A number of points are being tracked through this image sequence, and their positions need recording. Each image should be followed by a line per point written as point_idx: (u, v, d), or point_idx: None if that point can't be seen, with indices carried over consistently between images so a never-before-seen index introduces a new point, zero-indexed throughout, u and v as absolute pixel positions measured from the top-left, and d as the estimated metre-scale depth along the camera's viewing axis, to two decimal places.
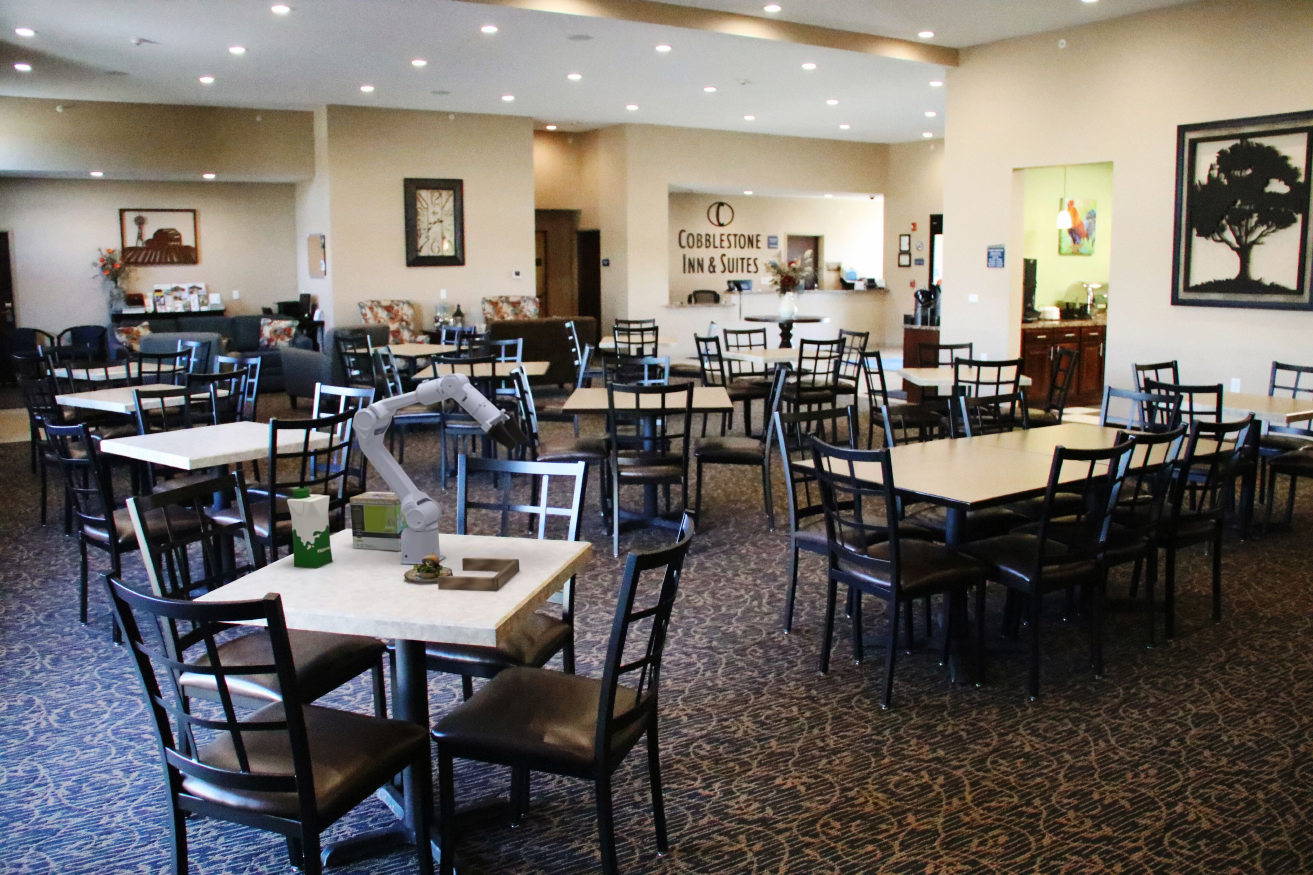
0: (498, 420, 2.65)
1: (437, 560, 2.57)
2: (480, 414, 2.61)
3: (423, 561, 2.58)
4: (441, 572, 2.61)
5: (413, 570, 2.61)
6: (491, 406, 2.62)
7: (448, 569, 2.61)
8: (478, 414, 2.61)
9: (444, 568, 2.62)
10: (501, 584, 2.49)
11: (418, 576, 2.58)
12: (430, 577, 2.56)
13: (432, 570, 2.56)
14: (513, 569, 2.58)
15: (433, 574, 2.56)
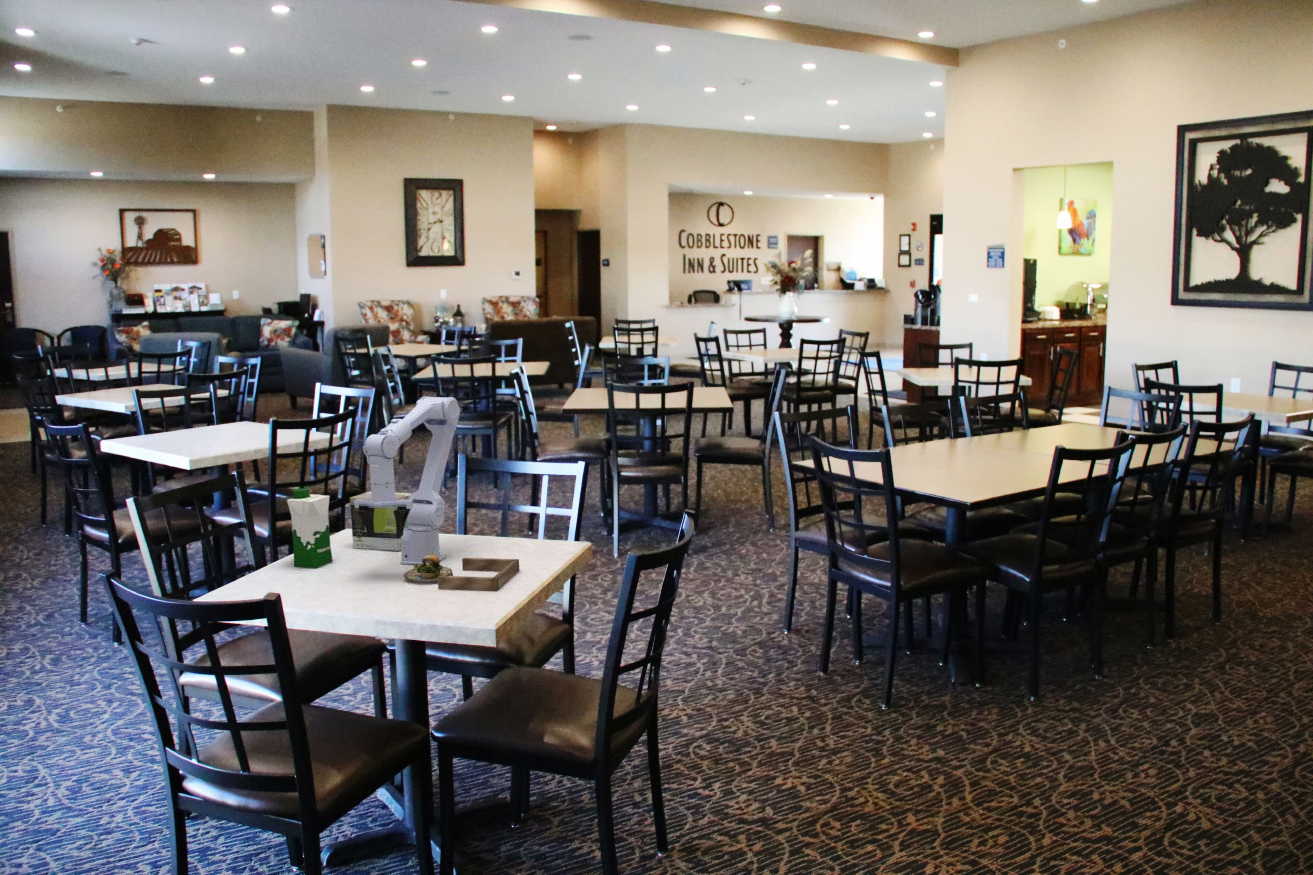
0: None
1: (437, 560, 2.57)
2: None
3: (423, 561, 2.58)
4: (441, 572, 2.61)
5: (413, 570, 2.61)
6: (375, 492, 2.54)
7: (448, 569, 2.61)
8: None
9: (444, 568, 2.62)
10: (501, 584, 2.49)
11: (418, 576, 2.58)
12: (430, 577, 2.56)
13: (432, 570, 2.56)
14: (513, 569, 2.58)
15: (433, 574, 2.56)
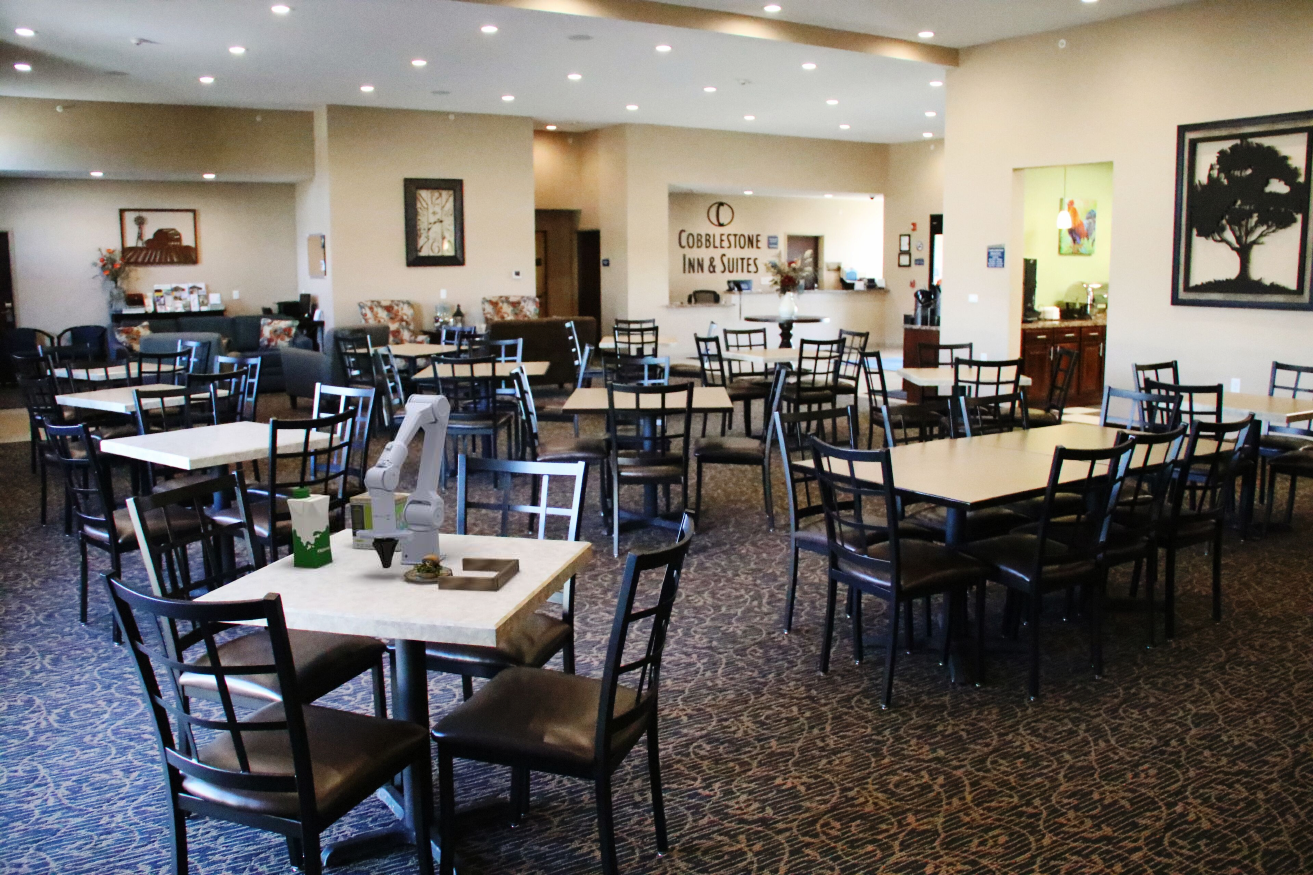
0: None
1: (437, 560, 2.57)
2: None
3: (423, 561, 2.58)
4: (441, 572, 2.61)
5: (413, 570, 2.61)
6: (376, 524, 2.55)
7: (448, 569, 2.61)
8: None
9: (444, 568, 2.62)
10: (501, 584, 2.49)
11: (418, 576, 2.58)
12: (430, 577, 2.56)
13: (432, 570, 2.56)
14: (513, 569, 2.58)
15: (433, 574, 2.56)
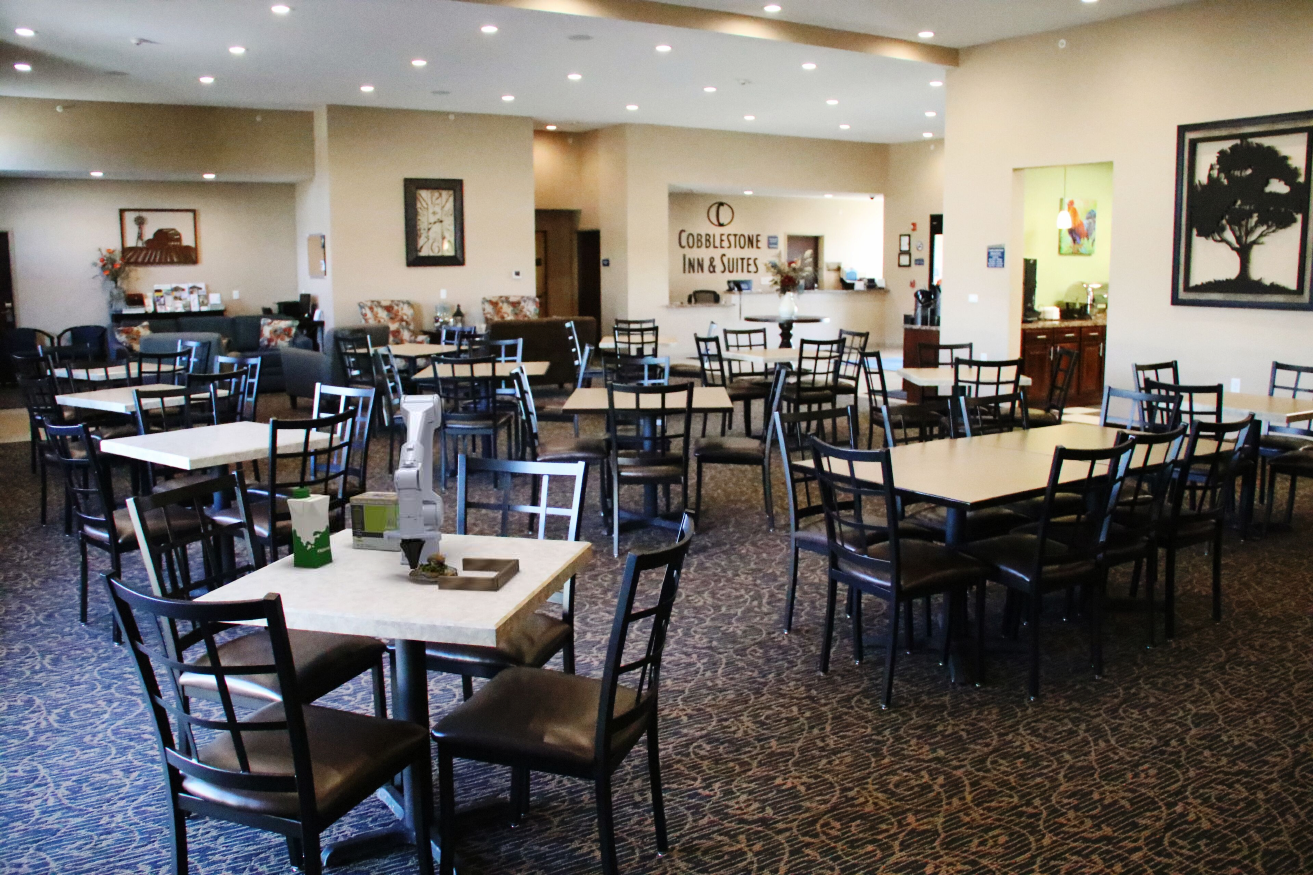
0: None
1: (442, 559, 2.57)
2: None
3: (428, 560, 2.58)
4: (446, 571, 2.60)
5: (418, 569, 2.60)
6: (403, 524, 2.54)
7: (453, 568, 2.60)
8: None
9: (449, 567, 2.62)
10: (501, 584, 2.49)
11: (423, 575, 2.58)
12: (435, 576, 2.56)
13: (437, 569, 2.55)
14: (513, 569, 2.58)
15: (438, 573, 2.56)
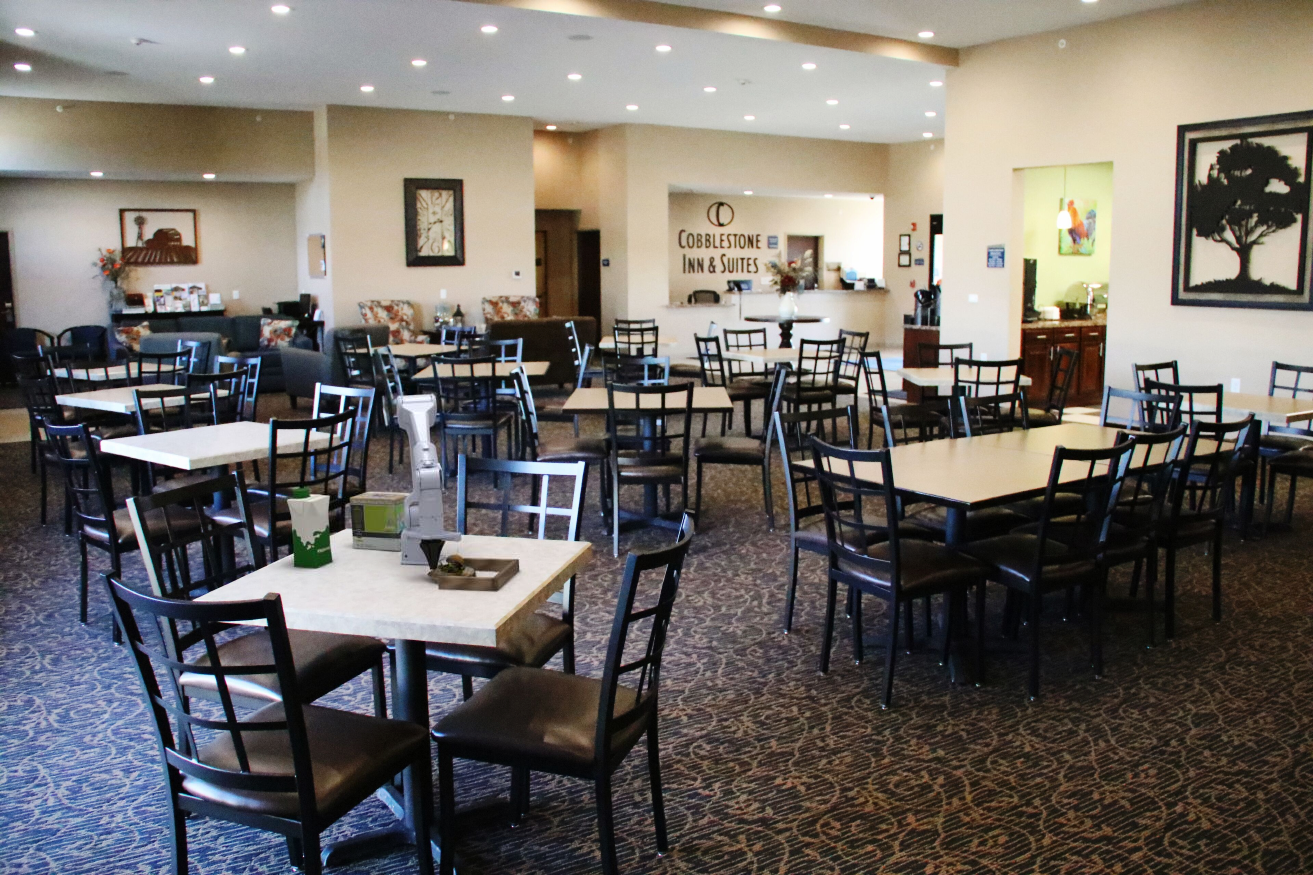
0: None
1: (460, 560, 2.56)
2: None
3: (447, 560, 2.58)
4: (466, 572, 2.60)
5: (439, 569, 2.61)
6: (423, 525, 2.53)
7: (472, 570, 2.59)
8: None
9: (469, 568, 2.61)
10: (501, 584, 2.49)
11: (442, 575, 2.58)
12: None
13: (454, 570, 2.55)
14: (513, 569, 2.58)
15: (455, 574, 2.55)
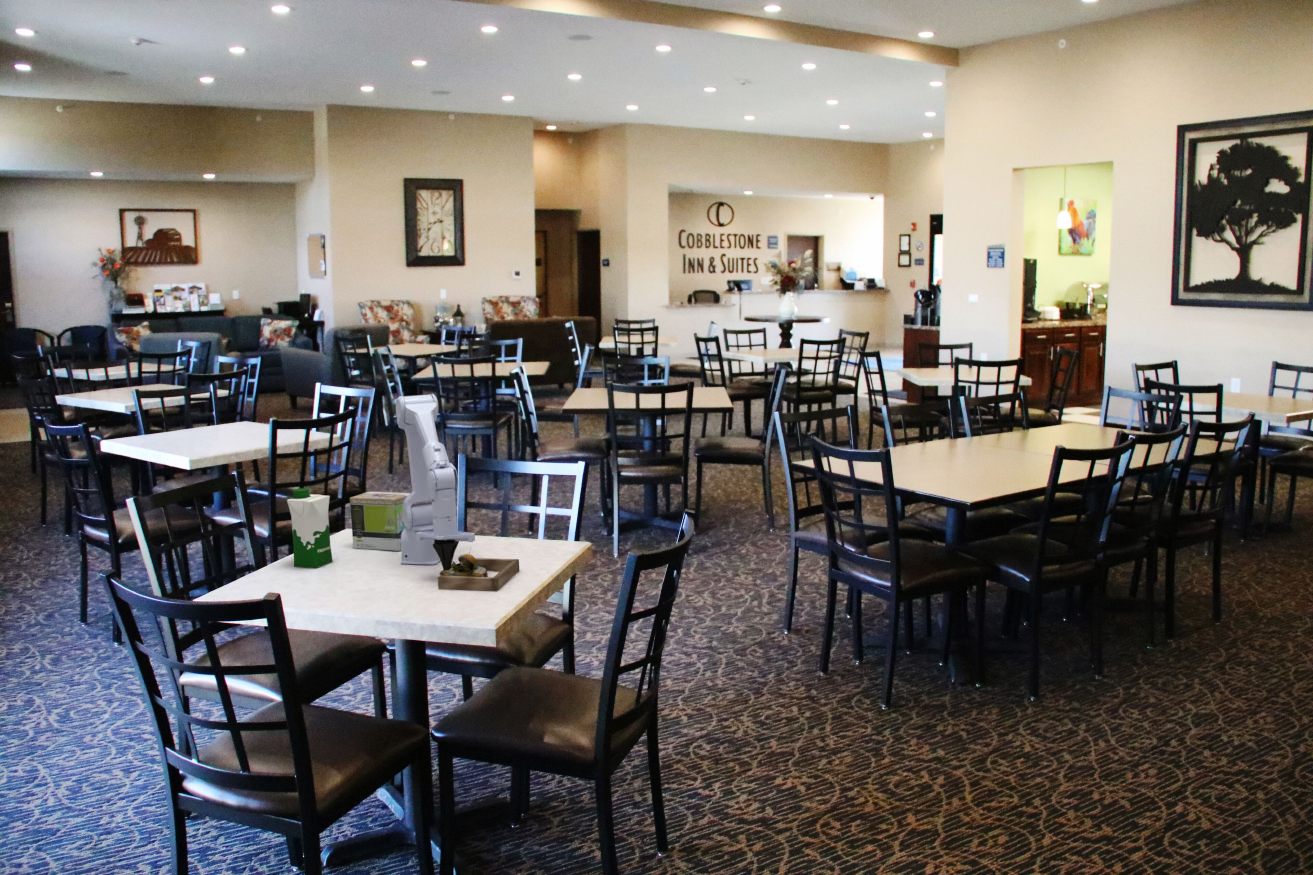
0: None
1: (471, 560, 2.57)
2: None
3: (459, 560, 2.58)
4: (478, 572, 2.60)
5: (453, 568, 2.62)
6: (437, 525, 2.52)
7: (485, 570, 2.59)
8: None
9: (482, 568, 2.61)
10: (501, 584, 2.49)
11: (454, 574, 2.59)
12: None
13: (465, 570, 2.55)
14: (513, 569, 2.58)
15: (466, 574, 2.55)
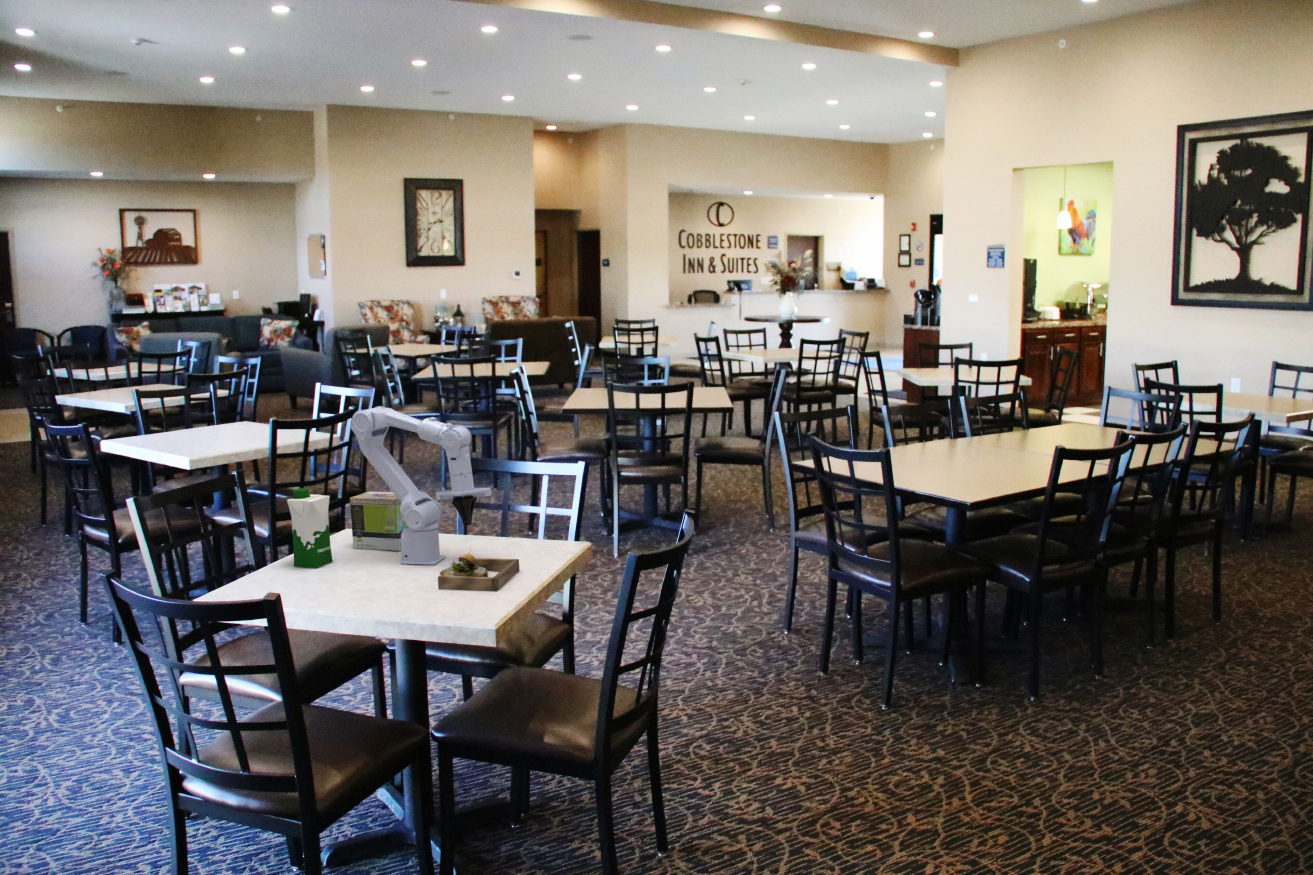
0: None
1: (472, 560, 2.57)
2: None
3: (460, 560, 2.58)
4: (478, 572, 2.60)
5: (453, 568, 2.62)
6: (454, 482, 2.64)
7: (485, 570, 2.59)
8: None
9: (482, 568, 2.61)
10: (501, 584, 2.49)
11: (454, 574, 2.58)
12: None
13: (465, 570, 2.55)
14: (513, 569, 2.58)
15: (466, 574, 2.55)
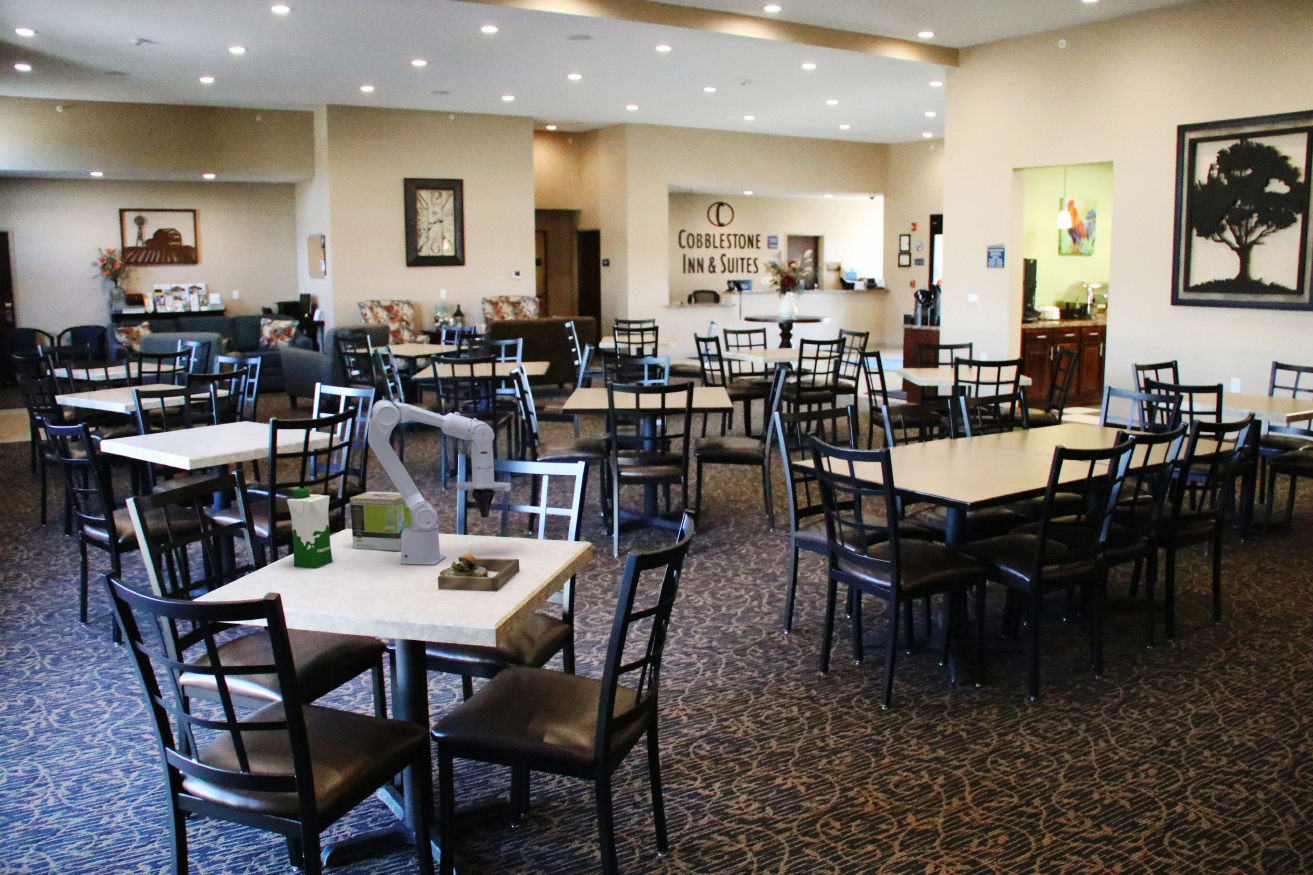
0: None
1: (472, 560, 2.57)
2: None
3: (460, 560, 2.58)
4: (478, 572, 2.60)
5: (453, 568, 2.62)
6: (476, 475, 2.73)
7: (485, 570, 2.59)
8: None
9: (482, 568, 2.61)
10: (501, 584, 2.49)
11: (454, 574, 2.58)
12: None
13: (465, 570, 2.55)
14: (513, 569, 2.58)
15: (466, 574, 2.55)
